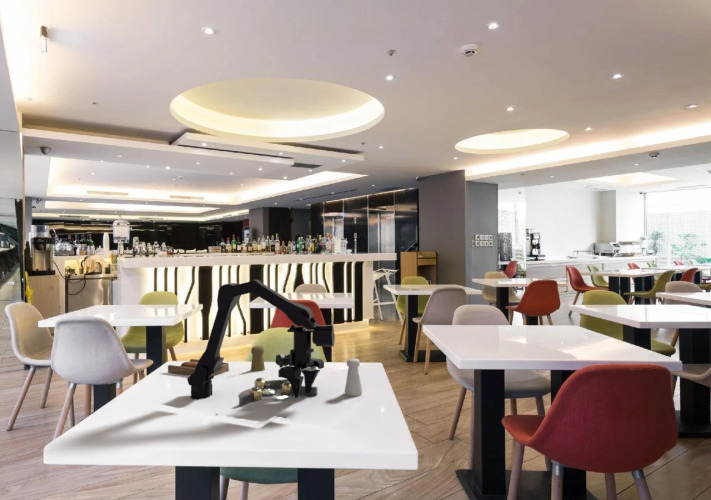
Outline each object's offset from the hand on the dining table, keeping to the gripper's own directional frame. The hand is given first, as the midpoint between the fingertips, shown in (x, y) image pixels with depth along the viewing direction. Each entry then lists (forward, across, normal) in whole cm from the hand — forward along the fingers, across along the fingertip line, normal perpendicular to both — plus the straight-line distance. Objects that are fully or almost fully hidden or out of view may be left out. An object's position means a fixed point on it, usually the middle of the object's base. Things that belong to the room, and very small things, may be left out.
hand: (302, 395), depth 147 cm
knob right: (+1, -4, -4) cm, 6 cm away
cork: (+2, -26, -37) cm, 46 cm away
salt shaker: (+3, -12, +13) cm, 18 cm away
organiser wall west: (+2, -12, -62) cm, 64 cm away
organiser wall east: (+2, -25, -62) cm, 67 cm away
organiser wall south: (+2, -19, -52) cm, 55 cm away
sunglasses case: (+3, -20, -62) cm, 65 cm away
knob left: (+1, -6, -16) cm, 17 cm away
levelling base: (+3, +2, -14) cm, 14 cm away
